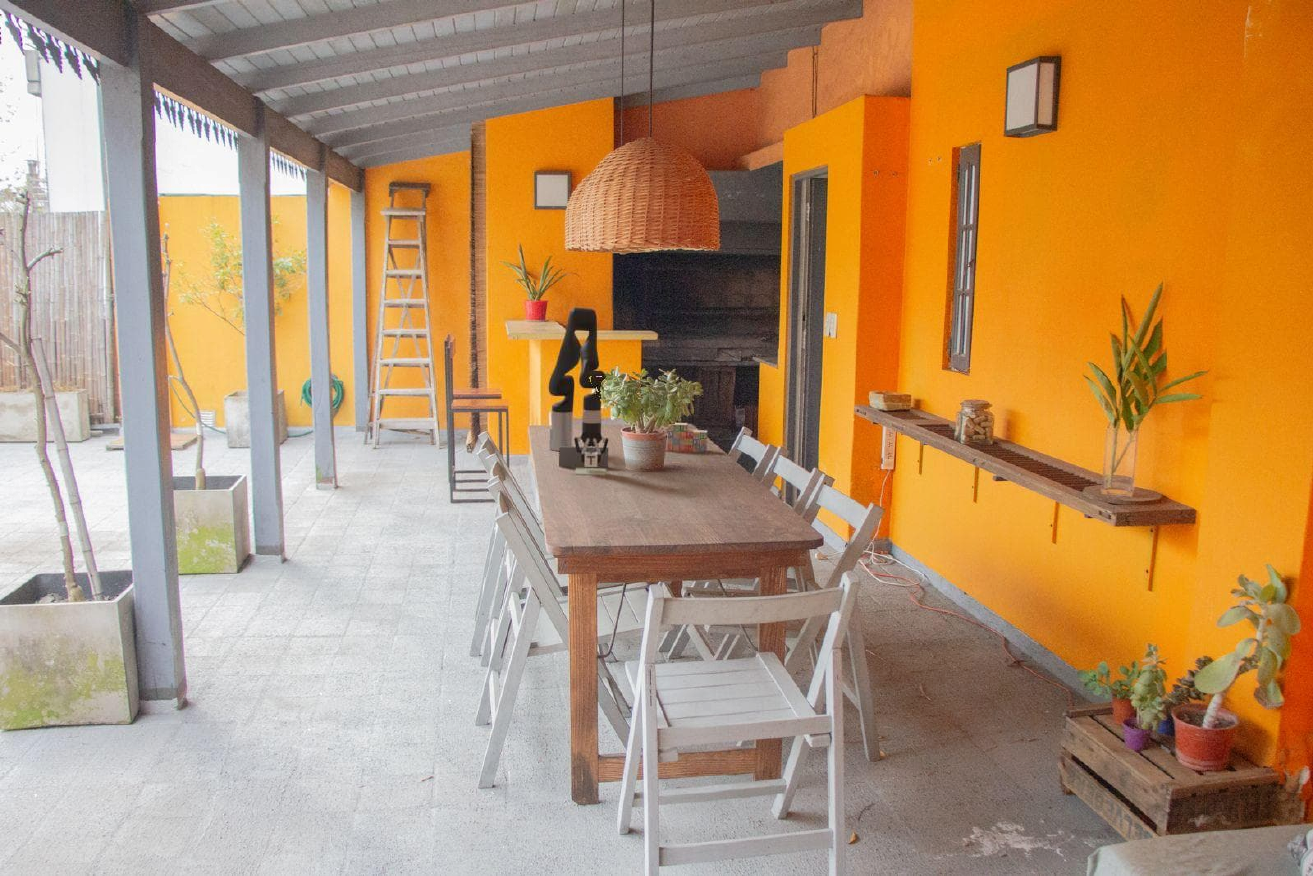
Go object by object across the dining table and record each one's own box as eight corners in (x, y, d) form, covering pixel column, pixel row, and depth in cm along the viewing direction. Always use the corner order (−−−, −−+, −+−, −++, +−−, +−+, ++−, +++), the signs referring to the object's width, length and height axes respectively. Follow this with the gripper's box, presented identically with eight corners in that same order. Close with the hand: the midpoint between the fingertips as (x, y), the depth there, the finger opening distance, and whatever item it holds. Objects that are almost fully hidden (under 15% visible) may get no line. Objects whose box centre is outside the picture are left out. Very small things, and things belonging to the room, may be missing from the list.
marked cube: (584, 466, 400) (584, 453, 399) (584, 464, 405) (584, 451, 404) (597, 467, 400) (597, 454, 399) (597, 464, 405) (597, 451, 404)
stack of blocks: (706, 450, 462) (707, 423, 460) (706, 452, 456) (707, 425, 454) (660, 448, 464) (661, 421, 462) (658, 450, 458) (659, 423, 456)
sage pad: (575, 474, 397) (575, 473, 397) (575, 468, 408) (575, 467, 408) (605, 475, 397) (605, 473, 397) (605, 469, 409) (605, 468, 409)
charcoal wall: (558, 466, 412) (559, 447, 411) (558, 465, 414) (559, 446, 413) (607, 467, 413) (608, 448, 412) (607, 466, 415) (608, 447, 414)
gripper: (609, 420, 404) (608, 462, 406) (573, 419, 403) (573, 461, 406) (610, 422, 396) (609, 465, 399) (573, 421, 396) (572, 464, 398)
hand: (590, 463), depth 402 cm, fingers closed on marked cube, 5 cm apart
